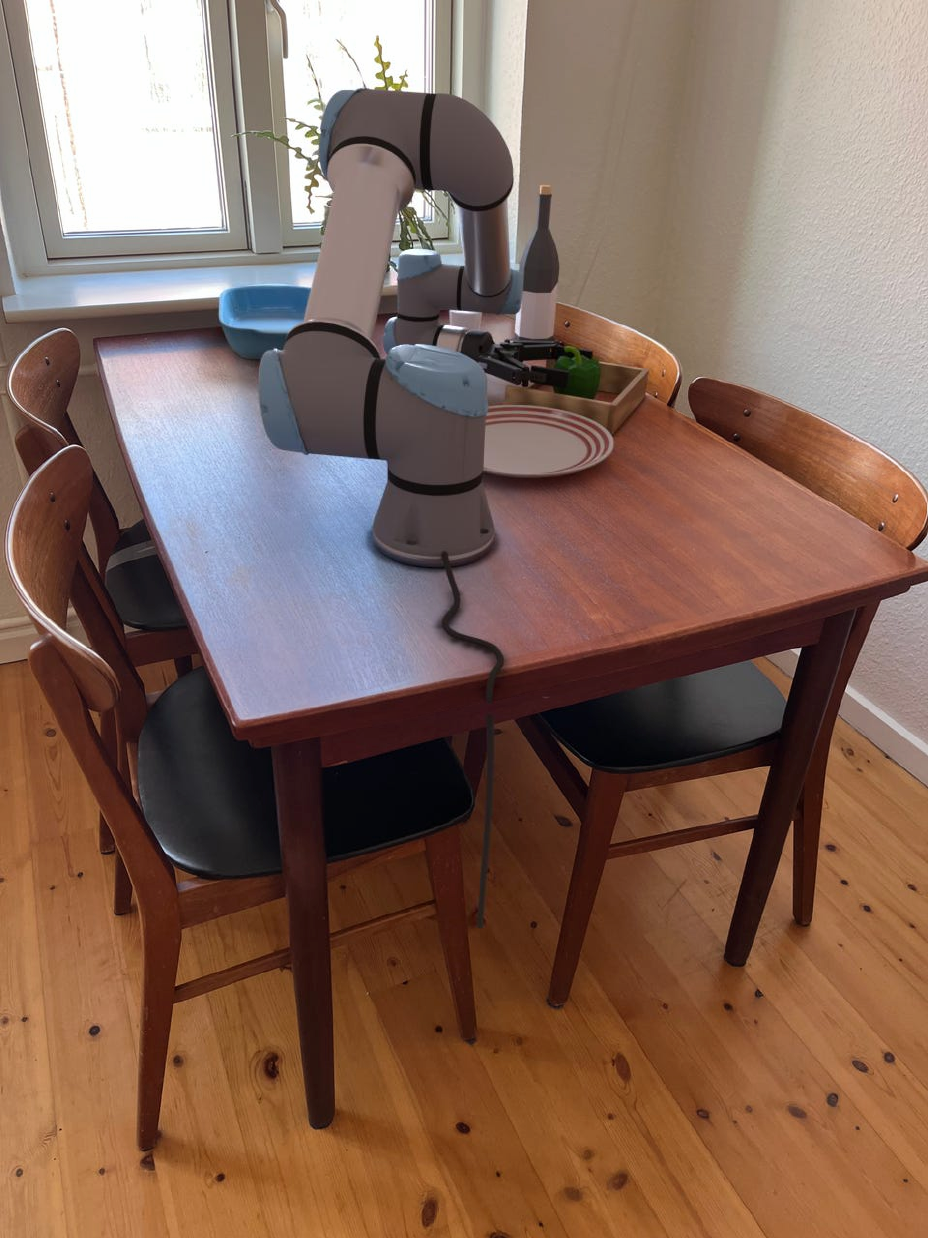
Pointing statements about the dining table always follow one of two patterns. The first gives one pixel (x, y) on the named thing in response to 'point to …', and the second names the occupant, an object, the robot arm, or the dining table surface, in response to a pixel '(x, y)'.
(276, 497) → the dining table surface
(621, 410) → the crate
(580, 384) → the bell pepper
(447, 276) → the robot arm
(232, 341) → the casserole dish
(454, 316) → the white cup
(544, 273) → the wine bottle
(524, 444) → the dinner plate
